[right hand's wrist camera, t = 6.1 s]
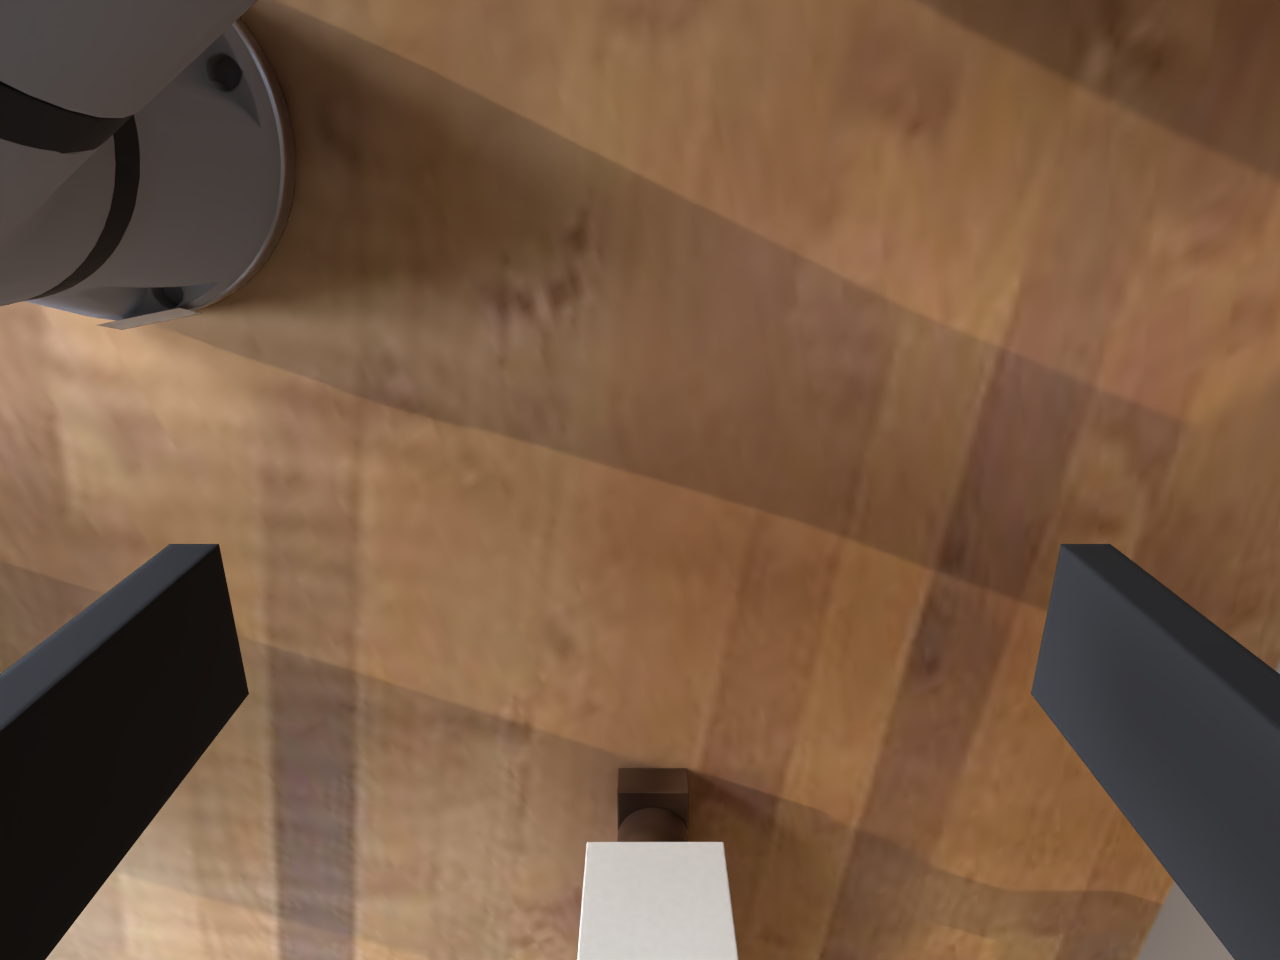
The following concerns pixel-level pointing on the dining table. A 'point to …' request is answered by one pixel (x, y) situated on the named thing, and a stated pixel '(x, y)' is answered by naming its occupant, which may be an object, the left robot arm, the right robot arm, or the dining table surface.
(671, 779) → the walnut stand
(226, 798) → the dining table surface
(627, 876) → the cap block
